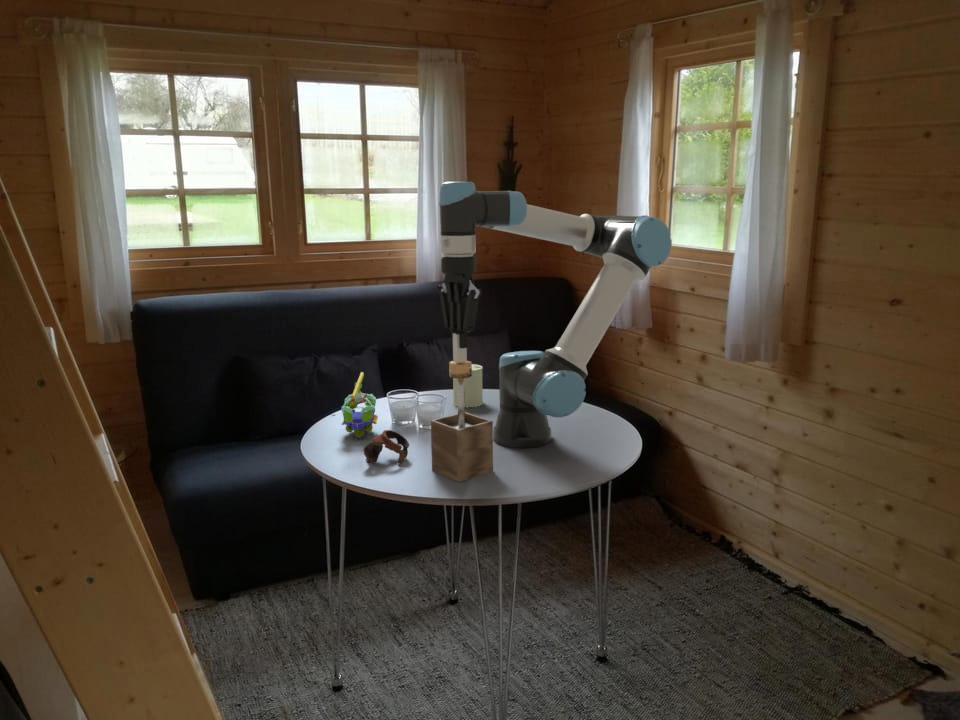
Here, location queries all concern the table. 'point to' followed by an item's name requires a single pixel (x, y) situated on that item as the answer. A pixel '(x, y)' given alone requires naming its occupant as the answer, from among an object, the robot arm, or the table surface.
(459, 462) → the box
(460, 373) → the plunger
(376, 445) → the brown arched band part
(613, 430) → the table surface
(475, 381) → the can
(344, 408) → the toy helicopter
